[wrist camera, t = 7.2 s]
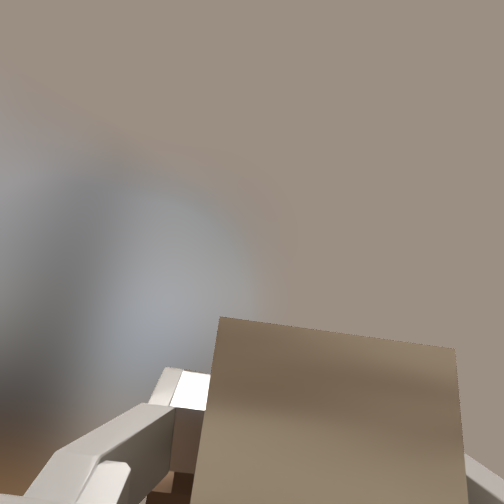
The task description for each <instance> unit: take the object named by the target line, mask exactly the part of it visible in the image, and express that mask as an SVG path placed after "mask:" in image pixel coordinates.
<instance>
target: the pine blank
mask: <svg viewBox="0 0 504 504" xmlns="http://www.w3.org/2000/svg"><path fill="white" fill-rule="evenodd" d="M459 401H460V400H459V389H458V378H457V366H456V355H455V349H452V348H444V347H437V346H430V345H423V344H416V343H408V342H401V341H394V340H386V339H379V338H372V337H364V336H357V335H350V334H343V333H336V332H329V331H321V330H314V329H307V328H299V327H292V326H284V325H278V324H271V323H263V322H256V321H249V320H242V319H234V318H227V317H220V319H219V325H218V331H217V337H216V343H215V350H214V356H213V363H212V369H211V375H210V381H209V387H208V394H207V400H206V406H205V413H204V419H203V425H202V431H201V438H200V444H199V450H198V457H197V463H196V469H195V475H194V482H193V488H192V494H191V501H190V504H469V503H468V492H467V481H466V469H465V458H464V446H463V436H462V423H461V412H460V402H459Z"/></svg>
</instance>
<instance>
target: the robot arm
mask: <svg viewBox="0 0 504 504" xmlns="http://www.w3.org/2000/svg"><path fill="white" fill-rule="evenodd" d="M210 375H211V374H209V373H203V372H197V371H191V370H183V369H178V368H171V367H166V368H165V369H164V370H163V372H162V374H161V376H160V378H159V380H158V382H157V385H156V387H155V389H154V391H153V393H152V395H151V397H150V399H149V402H148V403H141V404H139V405H137V406H136V407H134V408H132V409H130V410H129V411H127V412H125V413H123V414H121V415H120V416H118V417H116V418H114V419H113V420H111V421H109V422H107V423H105V424H104V425H102V426H100V427H98V428H97V429H95V430H93V431H91V432H90V433H88V434H86V435H84V436H83V437H81V438H79V439H77V440H75V441H74V442H72V443H70V444H68V445H66V446H65V447H63V448H61V449H59V450H58V451H56V452H55V453H54V454H53V456H52V457H51V459H50V460H49V461H48V463H47V464H46V466H45V467H44V468H43V469H42V471H41V473H40V474H39V475H38V476H37V478H36V479H35V480H34V482H33V483H32V485H31V486H30V487H29V489H28V490H27V491H26V493H25V494H24V496H15V495H7V494H0V504H139V503H140V502H141V501H142V500H143V499H144V498H145V497H146V496H147V495H148V494H149V493H150V492H151V491H152V490H153V489H154V488H155V487H156V486H157V485H158V483H159V482H160V481H161V480H162V479H163V478H164V477H165V476H166V475H167V474H168V472H169V471H171V472H182V473H192V474H195V469H196V463H197V457H198V450H199V444H200V438H201V431H202V425H203V419H204V413H205V406H206V400H207V394H208V387H209V381H210ZM464 458H465V469H466V481H467V492H468V503H469V504H504V480H503V479H502V478H500V477H499V476H497V475H496V474H494V473H493V472H491V471H490V470H489V469H487V468H486V467H484V466H483V465H481V464H480V463H478V462H477V461H475V460H474V459H472V458H471V457H469V456H468V455H467V454H465V453H464Z"/></svg>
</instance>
